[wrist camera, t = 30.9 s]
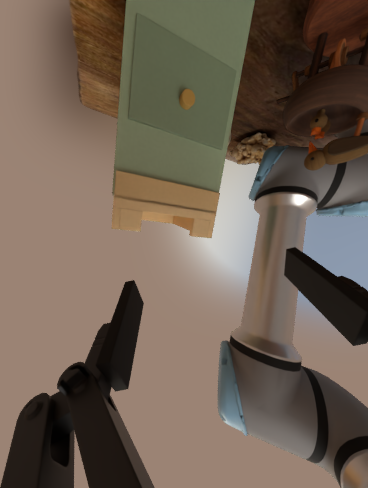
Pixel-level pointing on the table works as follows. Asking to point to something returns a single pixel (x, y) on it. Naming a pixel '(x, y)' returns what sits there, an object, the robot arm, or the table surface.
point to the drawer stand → (176, 109)
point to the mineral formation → (252, 148)
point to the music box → (332, 82)
